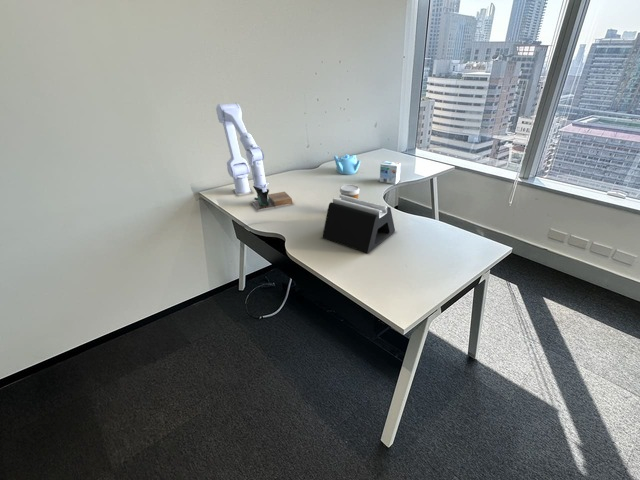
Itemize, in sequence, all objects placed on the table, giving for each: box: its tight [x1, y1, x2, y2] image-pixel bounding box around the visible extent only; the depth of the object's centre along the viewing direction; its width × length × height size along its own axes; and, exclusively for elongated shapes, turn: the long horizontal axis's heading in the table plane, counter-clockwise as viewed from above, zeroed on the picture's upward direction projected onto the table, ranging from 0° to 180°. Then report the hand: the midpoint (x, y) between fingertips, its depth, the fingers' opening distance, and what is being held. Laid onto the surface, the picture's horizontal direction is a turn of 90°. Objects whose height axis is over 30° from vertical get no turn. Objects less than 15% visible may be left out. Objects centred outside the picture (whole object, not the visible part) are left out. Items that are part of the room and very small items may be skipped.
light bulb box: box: [379, 160, 401, 185], centre depth 195 cm, size 11×7×11 cm, turn 68°
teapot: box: [333, 153, 362, 176], centre depth 209 cm, size 15×15×11 cm
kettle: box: [253, 193, 269, 205], centre depth 163 cm, size 7×5×5 cm
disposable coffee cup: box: [339, 184, 361, 199], centre depth 158 cm, size 10×10×12 cm
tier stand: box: [251, 191, 293, 211], centre depth 166 cm, size 11×18×3 cm, turn 120°
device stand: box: [322, 194, 396, 254], centre depth 137 cm, size 22×22×15 cm
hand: (263, 201), depth 164 cm, fingers closed on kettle, 5 cm apart
